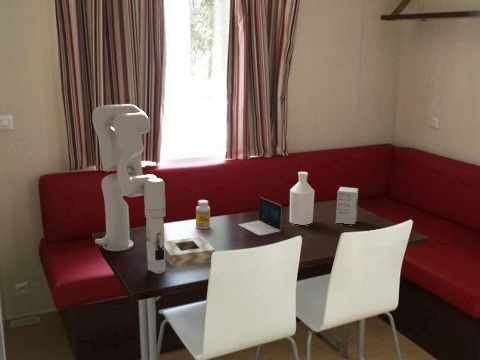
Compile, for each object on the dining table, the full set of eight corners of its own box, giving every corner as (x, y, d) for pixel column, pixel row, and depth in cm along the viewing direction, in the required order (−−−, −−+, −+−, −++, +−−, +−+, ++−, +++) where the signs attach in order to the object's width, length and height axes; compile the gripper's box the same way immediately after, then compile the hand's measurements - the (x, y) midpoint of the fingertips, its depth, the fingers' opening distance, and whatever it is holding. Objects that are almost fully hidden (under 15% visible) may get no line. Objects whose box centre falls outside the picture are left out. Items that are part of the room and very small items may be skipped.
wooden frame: (171, 267, 207) (170, 255, 205) (160, 253, 221) (160, 241, 220) (214, 261, 213) (214, 249, 212) (202, 247, 228) (202, 236, 226)
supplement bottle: (197, 229, 250) (197, 203, 247) (194, 225, 256) (194, 199, 253) (211, 228, 252) (211, 202, 249) (208, 224, 258) (208, 198, 255)
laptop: (237, 225, 258) (238, 199, 254) (259, 221, 264) (259, 196, 261) (259, 236, 243) (259, 209, 240) (281, 232, 250) (282, 205, 246)
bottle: (288, 218, 270) (290, 169, 264) (311, 218, 270) (314, 170, 264) (289, 225, 258) (291, 175, 253) (314, 226, 258) (316, 175, 252)
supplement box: (354, 226, 259) (356, 192, 255) (335, 224, 262) (337, 190, 258) (356, 220, 268) (358, 188, 264) (338, 218, 270) (339, 186, 266)
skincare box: (166, 271, 203) (165, 241, 200) (156, 274, 200) (156, 244, 197) (156, 266, 207) (155, 237, 204) (146, 270, 204) (145, 240, 201)
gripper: (140, 207, 204) (142, 249, 208) (150, 219, 189) (152, 264, 192) (159, 205, 207) (160, 246, 211) (171, 216, 191) (172, 261, 195)
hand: (156, 255), depth 201 cm, fingers open, 9 cm apart
